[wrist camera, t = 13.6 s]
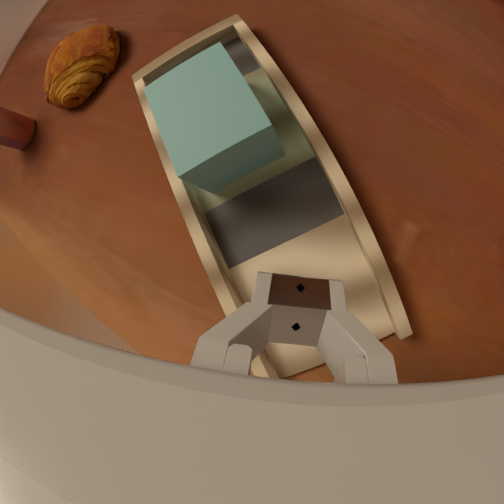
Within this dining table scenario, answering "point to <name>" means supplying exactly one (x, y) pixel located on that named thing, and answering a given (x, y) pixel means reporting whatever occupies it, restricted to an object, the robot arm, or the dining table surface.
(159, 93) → the teal block
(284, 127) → the trap lane
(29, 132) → the beverage can
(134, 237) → the dining table surface
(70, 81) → the croissant
